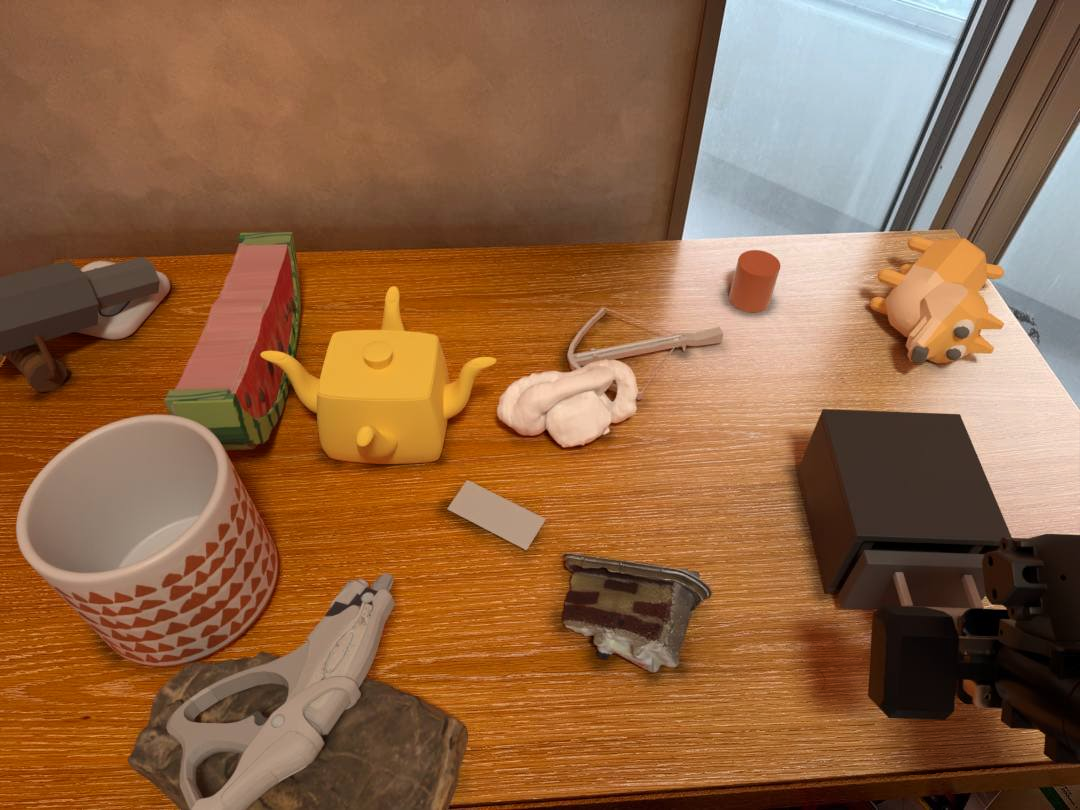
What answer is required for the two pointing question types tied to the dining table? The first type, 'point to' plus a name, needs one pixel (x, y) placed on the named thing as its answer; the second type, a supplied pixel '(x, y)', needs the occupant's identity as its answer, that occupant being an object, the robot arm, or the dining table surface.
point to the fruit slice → (244, 346)
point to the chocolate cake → (632, 607)
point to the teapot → (382, 392)
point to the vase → (150, 539)
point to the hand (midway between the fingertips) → (962, 622)
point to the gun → (310, 709)
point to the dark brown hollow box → (893, 486)
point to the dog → (940, 300)
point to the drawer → (915, 577)
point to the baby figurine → (570, 402)
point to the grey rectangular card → (496, 514)
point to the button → (124, 310)
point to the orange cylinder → (754, 280)
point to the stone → (341, 765)
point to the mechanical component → (62, 310)
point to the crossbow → (637, 346)
